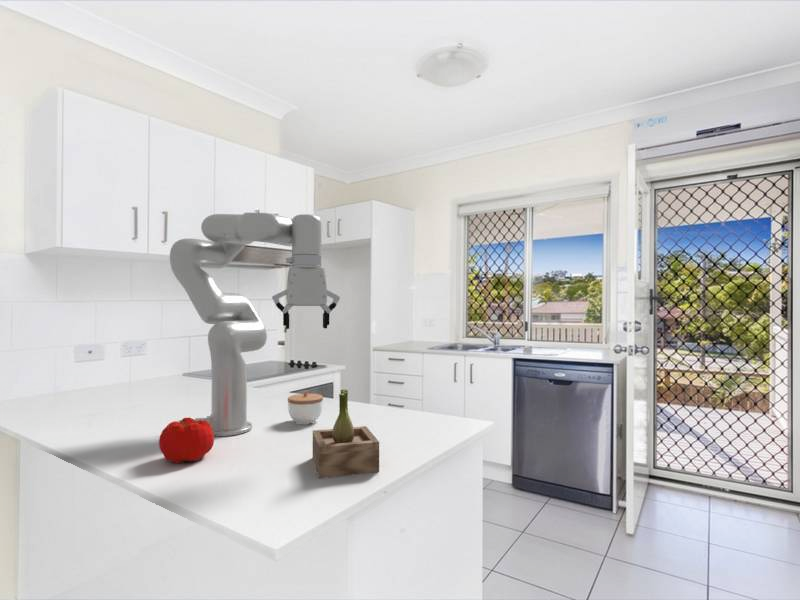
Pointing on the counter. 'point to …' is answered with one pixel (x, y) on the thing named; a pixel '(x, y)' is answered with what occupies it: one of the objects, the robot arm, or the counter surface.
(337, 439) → the fennel bulb
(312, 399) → the lidded jar
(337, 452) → the open walnut box
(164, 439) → the tomato
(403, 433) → the counter surface
